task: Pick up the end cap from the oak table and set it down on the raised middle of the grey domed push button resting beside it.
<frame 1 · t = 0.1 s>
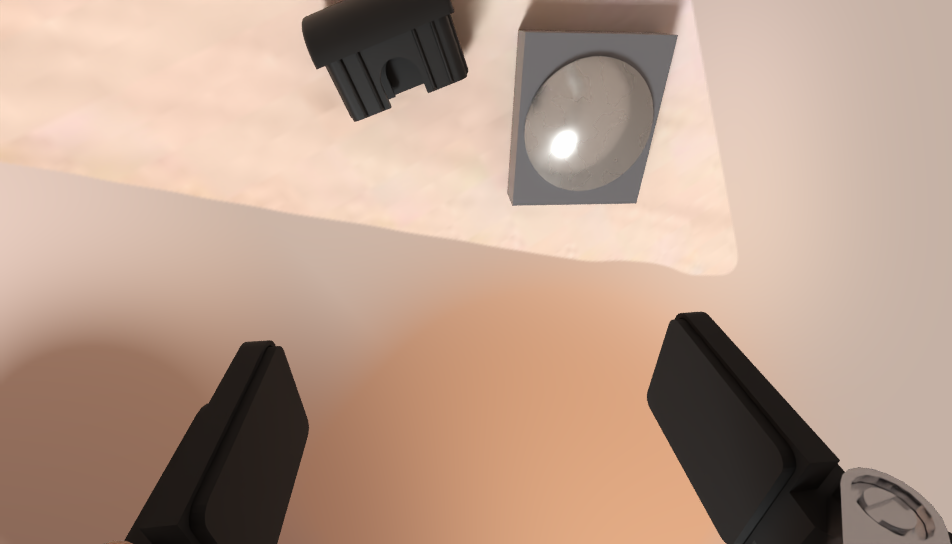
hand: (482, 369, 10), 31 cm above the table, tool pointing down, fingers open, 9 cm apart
end cap: (394, 41, 33), on the table
grey domed push button: (577, 120, 38), on the table
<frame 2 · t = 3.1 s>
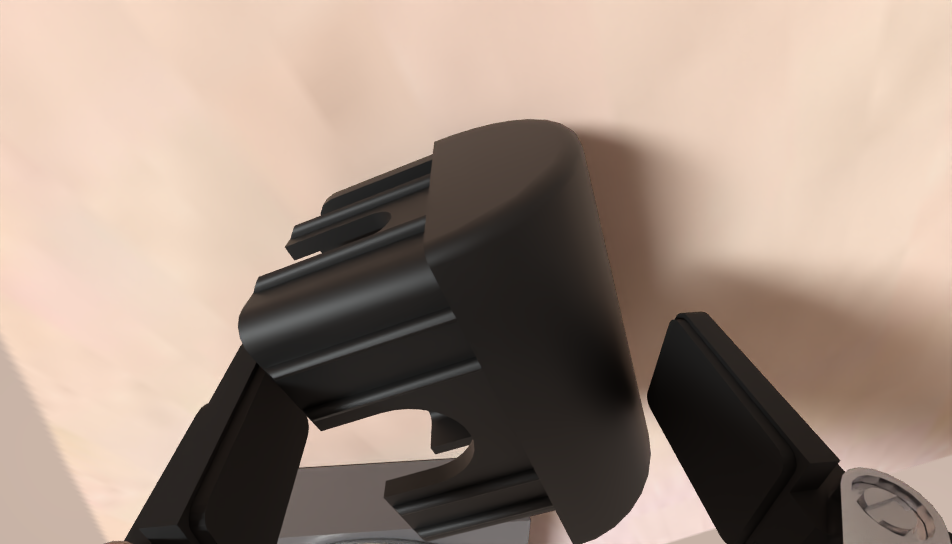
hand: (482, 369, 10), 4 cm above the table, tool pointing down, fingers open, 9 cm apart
end cap: (479, 272, 15), on the table
grey domed push button: (387, 529, 23), on the table
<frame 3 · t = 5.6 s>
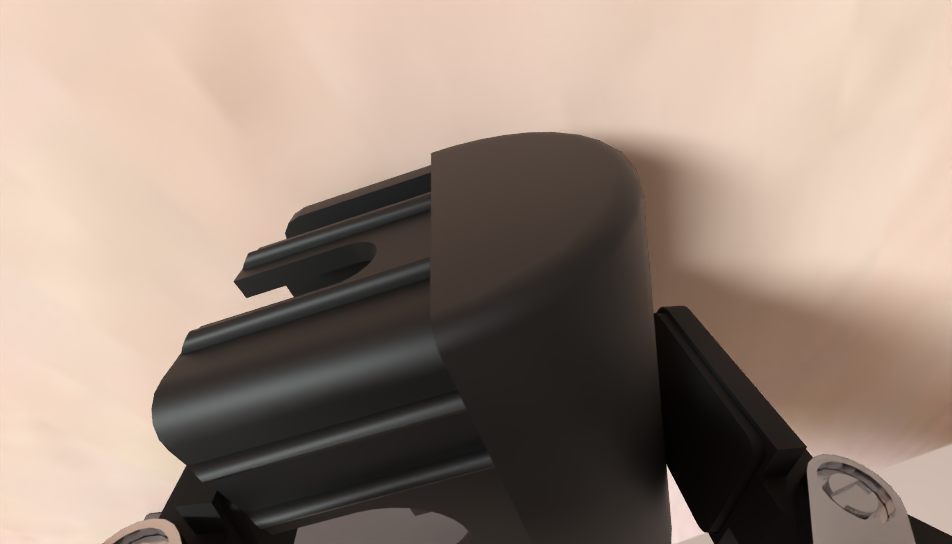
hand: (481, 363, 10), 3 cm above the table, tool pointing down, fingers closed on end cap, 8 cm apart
end cap: (474, 304, 12), on the table, touching gripper
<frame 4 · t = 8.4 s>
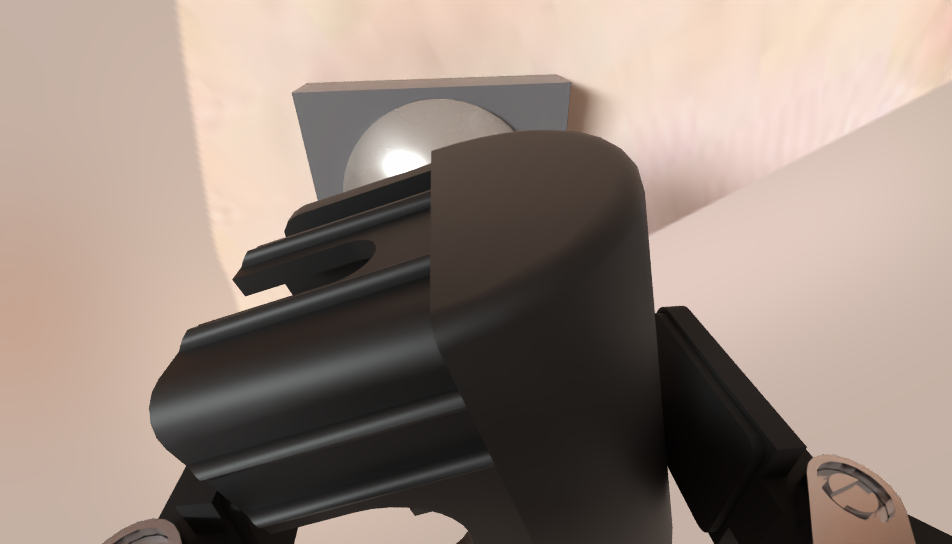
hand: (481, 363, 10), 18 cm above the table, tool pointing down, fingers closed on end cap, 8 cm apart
end cap: (474, 303, 12), point 16 cm above the table, touching gripper
grey domed push button: (441, 181, 27), on the table
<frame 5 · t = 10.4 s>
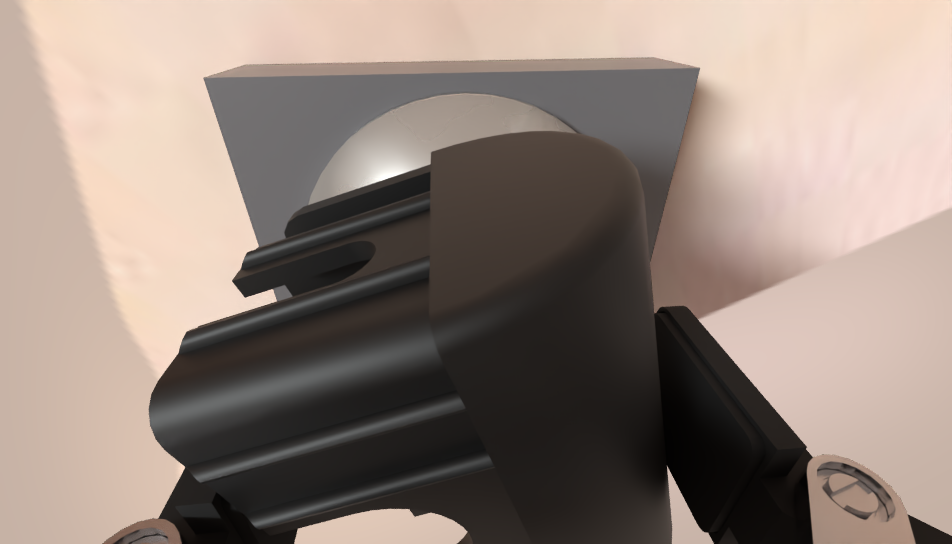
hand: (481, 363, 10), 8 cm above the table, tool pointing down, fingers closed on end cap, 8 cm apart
end cap: (474, 304, 12), point 6 cm above the table, touching gripper
grey domed push button: (461, 220, 17), on the table
when the fingers open (6 cm above the table, at t = 12.2 s): end cap stays where it is, resting on grey domed push button.
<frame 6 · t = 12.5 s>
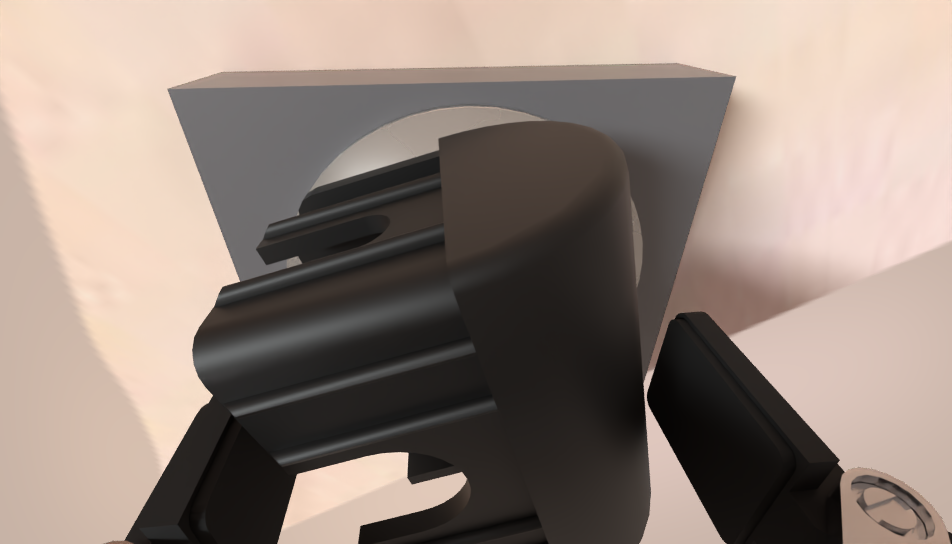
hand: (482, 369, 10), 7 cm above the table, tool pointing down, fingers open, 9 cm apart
end cap: (472, 285, 13), point 3 cm above the table, touching grey domed push button
grey domed push button: (463, 240, 16), on the table
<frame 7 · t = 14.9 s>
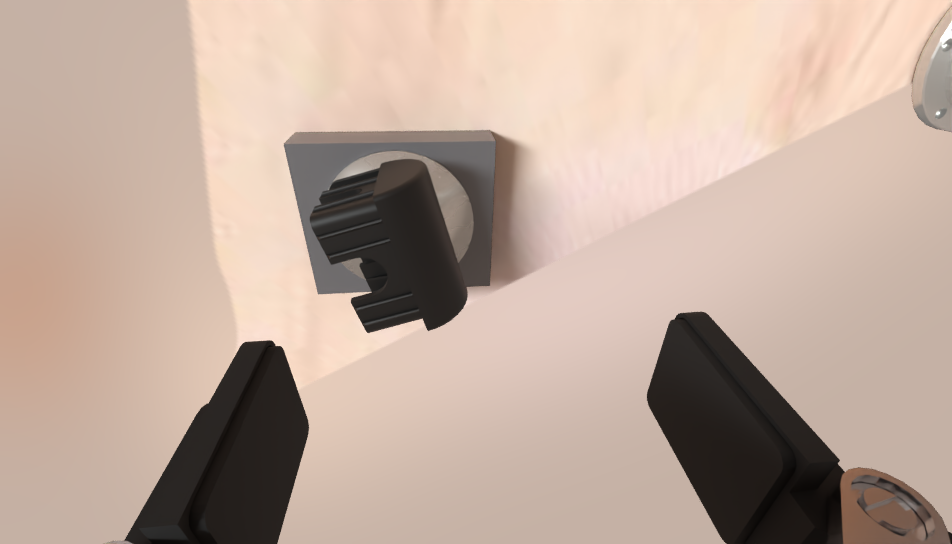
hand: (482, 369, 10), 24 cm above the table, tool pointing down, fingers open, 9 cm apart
end cap: (400, 224, 31), point 3 cm above the table, touching grey domed push button
grey domed push button: (401, 207, 33), on the table
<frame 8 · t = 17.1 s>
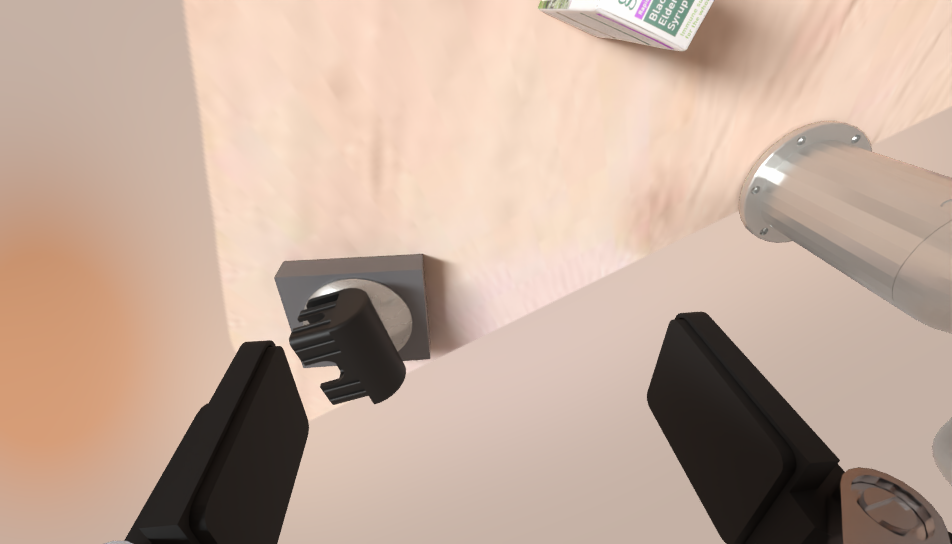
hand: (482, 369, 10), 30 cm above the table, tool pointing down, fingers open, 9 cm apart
end cap: (359, 322, 43), point 3 cm above the table, touching grey domed push button
grey domed push button: (362, 304, 46), on the table
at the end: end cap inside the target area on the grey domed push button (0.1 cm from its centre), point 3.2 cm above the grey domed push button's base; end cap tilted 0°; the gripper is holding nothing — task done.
